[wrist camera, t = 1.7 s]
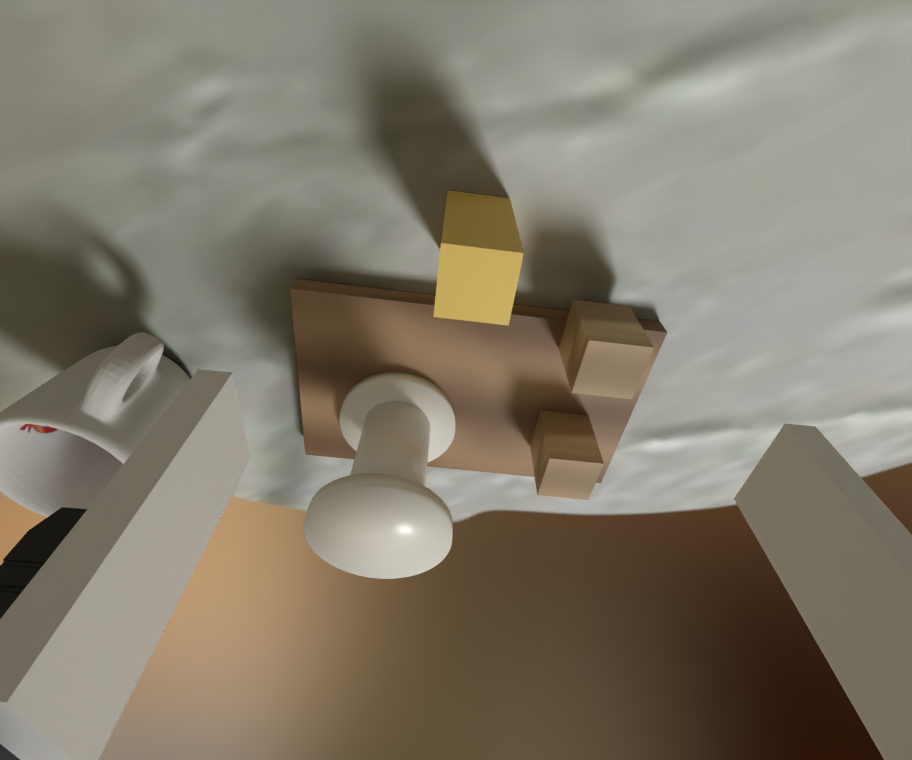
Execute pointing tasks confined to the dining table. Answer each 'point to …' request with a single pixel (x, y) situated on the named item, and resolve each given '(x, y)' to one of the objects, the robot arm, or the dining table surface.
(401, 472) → the knob
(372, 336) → the board
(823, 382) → the dining table surface
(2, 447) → the cup
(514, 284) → the yellow rectangular block
